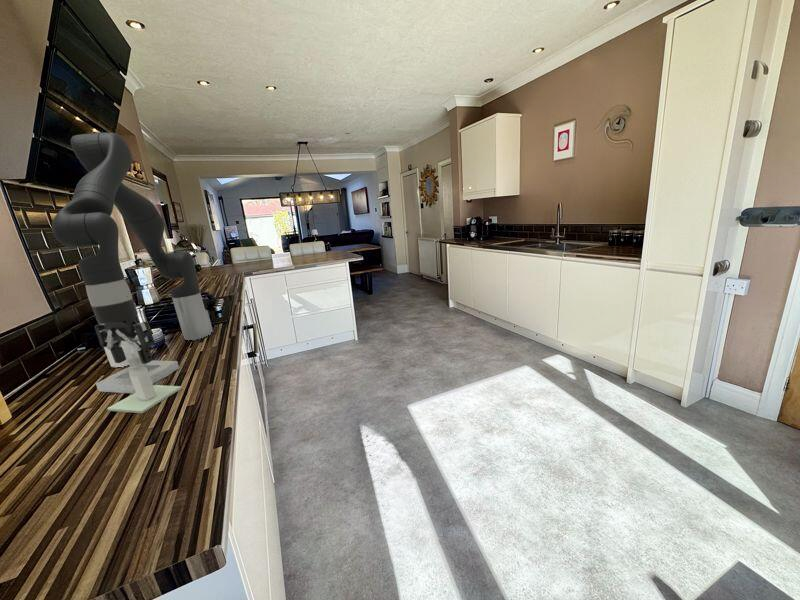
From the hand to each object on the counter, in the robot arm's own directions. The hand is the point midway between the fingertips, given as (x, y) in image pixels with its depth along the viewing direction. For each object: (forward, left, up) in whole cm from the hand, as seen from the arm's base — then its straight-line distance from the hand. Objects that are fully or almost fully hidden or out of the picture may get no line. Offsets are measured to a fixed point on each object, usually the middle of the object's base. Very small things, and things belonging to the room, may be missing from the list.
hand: (134, 362), depth 81 cm
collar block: (-9, -13, -11) cm, 19 cm away
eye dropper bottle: (0, 0, -10) cm, 10 cm away
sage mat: (0, 0, -11) cm, 11 cm away
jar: (-19, -31, -11) cm, 38 cm away
